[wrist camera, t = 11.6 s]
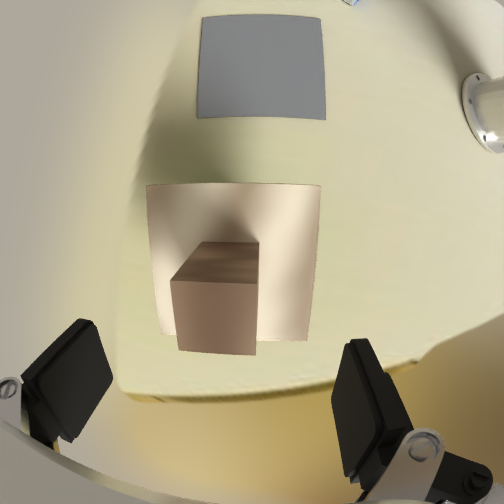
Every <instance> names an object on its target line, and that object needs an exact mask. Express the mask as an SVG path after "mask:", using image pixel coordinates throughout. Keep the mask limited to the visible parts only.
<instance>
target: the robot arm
mask: <svg viewBox="0 0 504 504" xmlns="http://www.w3.org/2000/svg"><path fill="white" fill-rule="evenodd" d="M462 99H463V106H464V111H465V114H466V118H467V120H468V123H469V125H470V128H471V130H472V132H473V134H474V135H475V137H476V138H477V140H478V141H479V142H480V144H481V145H482V146H483V147H484V148H485V149H486V150H488V151H490V152H492V153H496V154H502V153H504V77H500V78H496V79H491V78H490V77H488V76H487V75H485V74H482V73H474V74H472V75H469V76H468V77H467V78H466V80H465V82H464V84H463V90H462ZM21 378H22V380H23V381H24V383H23V384H21V383H20V381H19V380H18V379H17V378H15V377H6V378H4V379H2V380H0V504H216V503H208V502H203V501H197V500H191V499H186V498H181V497H176V496H172V495H168V494H164V493H160V492H156V491H152V490H149V489H145V488H142V487H139V486H136V485H132V484H129V483H126V482H124V481H120V480H118V479H115V478H112V477H110V476H107V475H105V474H102V473H100V472H98V471H95V470H93V469H90V468H88V467H86V466H84V465H82V464H79V463H77V462H75V461H73V460H71V459H69V458H67V457H65V456H63V455H61V454H60V451H59V446H58V440H57V437H58V436H60V437H61V438H62V439H63V440H65V441H67V442H70V443H72V441H73V440H74V438H77V437H78V436H79V434H80V433H81V431H82V429H83V428H84V426H85V424H86V423H87V421H88V419H89V418H90V416H91V414H92V413H93V411H94V410H95V408H96V407H97V405H98V403H99V402H100V400H101V399H102V397H103V396H104V394H105V392H106V391H107V389H108V388H109V386H110V385H111V383H112V380H113V374H112V372H111V369H110V366H109V363H108V361H107V358H106V355H105V352H104V349H103V346H102V343H101V340H100V337H99V333H98V330H97V327H96V326H95V325H94V323H93V322H92V321H91V320H86V319H77V320H76V321H75V322H74V323H73V324H72V325H71V326H70V327H69V328H68V329H67V330H66V331H65V332H63V334H62V335H60V336H59V337H58V338H57V339H56V340H55V341H54V342H53V343H52V344H51V345H50V346H49V347H48V348H47V349H46V350H45V351H44V352H43V353H42V354H41V355H40V356H39V357H38V358H37V359H36V360H35V361H34V362H33V363H32V364H31V365H30V366H29V367H28V368H27V369H26V370H25V372H24V373H23V374H22V375H21ZM331 403H332V409H333V414H334V419H335V425H336V430H337V435H338V441H339V446H340V452H341V458H342V464H343V469H344V475H345V477H350V482H351V484H352V483H358V482H360V485H361V489H363V491H362V493H361V494H360V495H359V497H358V498H357V499H356V501H355V502H354V503H346V504H504V487H503V486H502V485H500V484H499V483H497V484H495V485H494V484H493V476H492V473H491V471H490V470H489V469H488V468H487V467H486V466H484V465H482V464H479V463H476V462H473V461H470V460H467V459H465V458H462V457H459V456H456V455H454V454H451V453H449V452H446V451H445V444H444V440H443V439H442V437H441V436H440V435H439V434H438V433H437V432H436V431H433V430H431V429H427V428H418V429H415V430H414V428H413V426H412V423H411V421H410V418H409V416H408V414H407V411H406V409H405V407H404V405H403V402H402V400H401V398H400V396H399V394H398V391H397V389H396V387H395V385H394V383H393V380H392V379H391V376H390V375H389V374H388V373H387V372H385V373H384V372H383V370H382V367H381V365H380V363H379V361H378V359H377V357H376V355H375V352H374V350H373V348H372V346H371V344H370V342H369V340H368V339H367V338H364V339H351V341H350V343H346V344H345V346H344V350H343V355H342V359H341V363H340V367H339V371H338V374H337V378H336V382H335V385H334V389H333V392H332V396H331Z"/></svg>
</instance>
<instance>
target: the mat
mask: <svg viewBox="0 0 504 504" xmlns="http://www.w3.org/2000/svg"><path fill="white" fill-rule="evenodd" d="M214 117H288V118H305V119H318V120H326V97H325V72H324V55H323V41H322V30H321V19H318V18H310V17H299V16H286V15H230V16H216V17H206V18H203V25H202V37H201V50H200V65H199V84H198V110H197V118H214Z"/></svg>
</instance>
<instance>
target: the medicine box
mask: <svg viewBox="0 0 504 504" xmlns="http://www.w3.org/2000/svg"><path fill="white" fill-rule="evenodd" d="M343 1H345V2H347V3H348V4H350V5H351V6H353V5H354V4H355V3H356V2H357V1H358V0H343Z"/></svg>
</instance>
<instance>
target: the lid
mask: <svg viewBox="0 0 504 504" xmlns="http://www.w3.org/2000/svg"><path fill="white" fill-rule="evenodd" d="M320 194H321V186H319V185H306V184H282V183H184V184H160V185H148V186H146V197H147V217H148V231H149V244H150V254H151V264H152V273H153V281H154V289H155V296H156V303H157V310H158V316H159V322H160V328H161V334H168V335H177V341H178V348H179V350H181V351H191V352H202V353H216V354H232V355H256V340H262V341H307V337H308V330H309V322H310V314H311V306H312V297H313V288H314V278H315V268H316V256H317V244H318V230H319V214H320Z"/></svg>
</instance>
